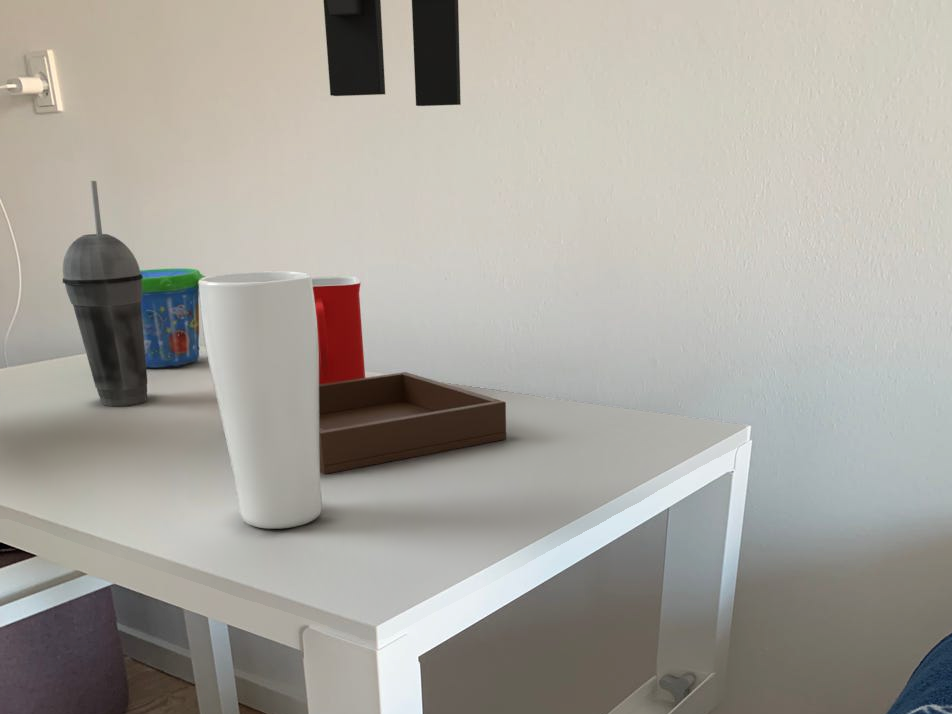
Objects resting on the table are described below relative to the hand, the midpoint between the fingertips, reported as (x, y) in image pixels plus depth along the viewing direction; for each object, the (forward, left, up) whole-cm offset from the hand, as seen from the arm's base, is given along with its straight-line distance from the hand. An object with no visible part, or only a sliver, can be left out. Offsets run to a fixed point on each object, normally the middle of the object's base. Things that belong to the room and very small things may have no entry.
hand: (402, 101), depth 57 cm
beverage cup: (-48, -7, -24) cm, 54 cm away
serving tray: (-20, +6, -24) cm, 32 cm away
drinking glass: (-4, -9, -24) cm, 26 cm away
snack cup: (-66, +3, -24) cm, 70 cm away
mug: (-37, +10, -24) cm, 45 cm away
